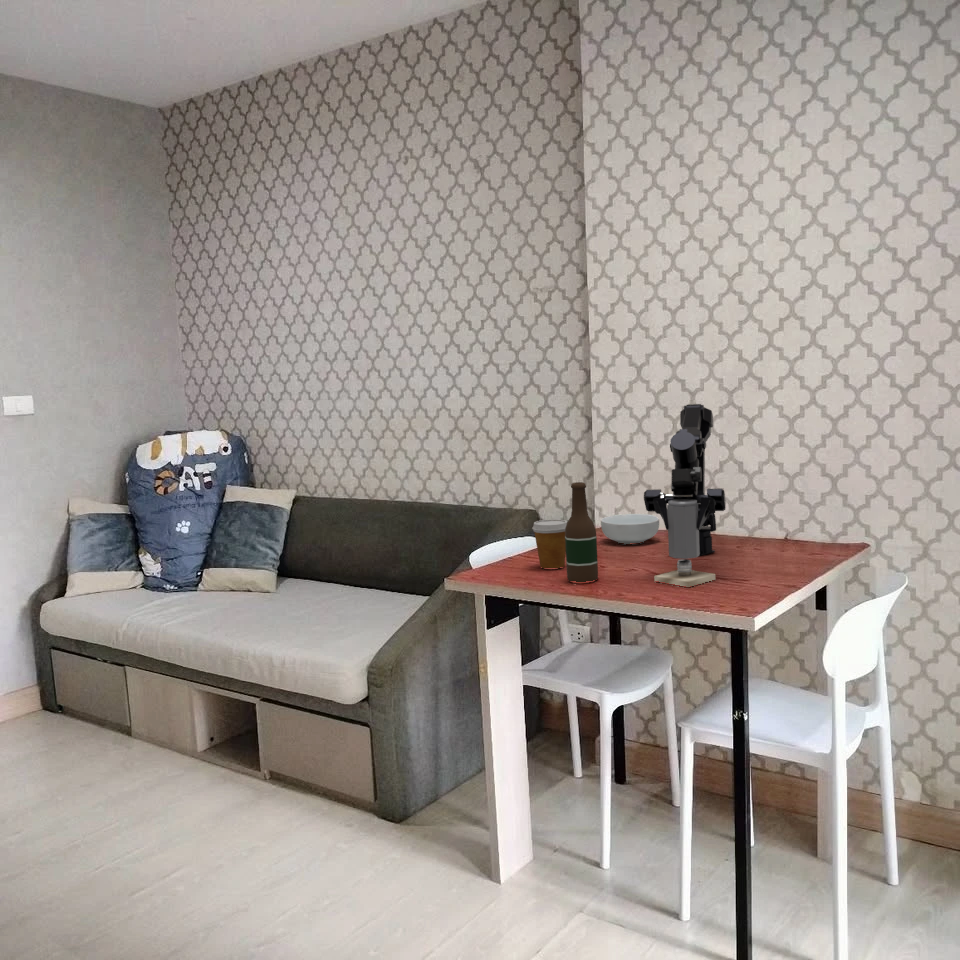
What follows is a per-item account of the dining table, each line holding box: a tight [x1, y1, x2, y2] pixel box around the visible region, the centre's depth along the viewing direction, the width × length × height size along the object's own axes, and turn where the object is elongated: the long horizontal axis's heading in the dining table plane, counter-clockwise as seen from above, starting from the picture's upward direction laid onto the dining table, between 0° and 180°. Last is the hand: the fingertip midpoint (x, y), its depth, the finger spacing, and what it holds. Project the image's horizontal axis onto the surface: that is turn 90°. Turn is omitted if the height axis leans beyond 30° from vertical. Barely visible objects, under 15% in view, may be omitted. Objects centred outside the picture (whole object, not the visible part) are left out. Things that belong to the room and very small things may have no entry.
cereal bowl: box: [600, 513, 660, 545], centre depth 276 cm, size 17×17×7 cm
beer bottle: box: [565, 481, 599, 582], centre depth 229 cm, size 8×8×24 cm
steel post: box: [676, 558, 693, 576], centre depth 224 cm, size 3×3×4 cm
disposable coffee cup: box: [532, 519, 568, 568], centre depth 247 cm, size 10×10×12 cm
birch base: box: [653, 569, 716, 587], centre depth 224 cm, size 10×10×2 cm
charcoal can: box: [667, 499, 700, 560], centre depth 223 cm, size 7×7×13 cm
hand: (682, 529), depth 221 cm, fingers closed on charcoal can, 7 cm apart
